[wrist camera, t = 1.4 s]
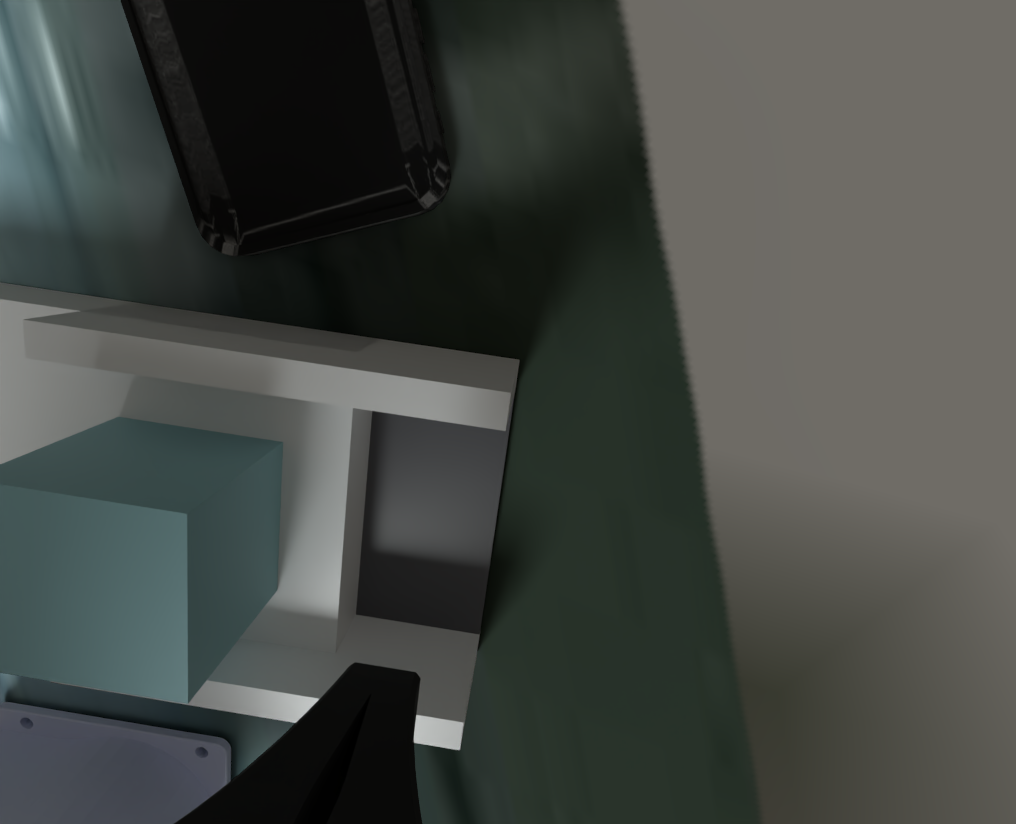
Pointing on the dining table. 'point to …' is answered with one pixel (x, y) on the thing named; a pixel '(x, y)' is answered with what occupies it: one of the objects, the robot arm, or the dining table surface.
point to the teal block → (136, 555)
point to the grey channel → (301, 478)
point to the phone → (293, 115)
